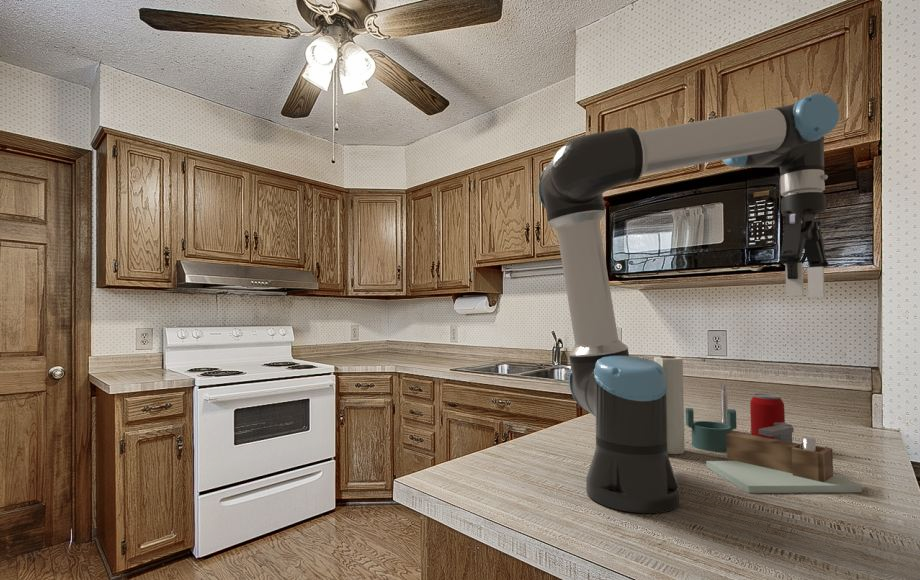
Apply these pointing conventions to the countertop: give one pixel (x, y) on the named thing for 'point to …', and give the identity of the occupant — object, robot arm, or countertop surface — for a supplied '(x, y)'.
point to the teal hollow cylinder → (710, 431)
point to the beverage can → (765, 412)
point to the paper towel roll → (674, 402)
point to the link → (781, 456)
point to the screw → (723, 403)
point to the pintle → (808, 444)
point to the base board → (776, 479)
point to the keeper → (778, 431)
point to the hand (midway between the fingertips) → (806, 297)
